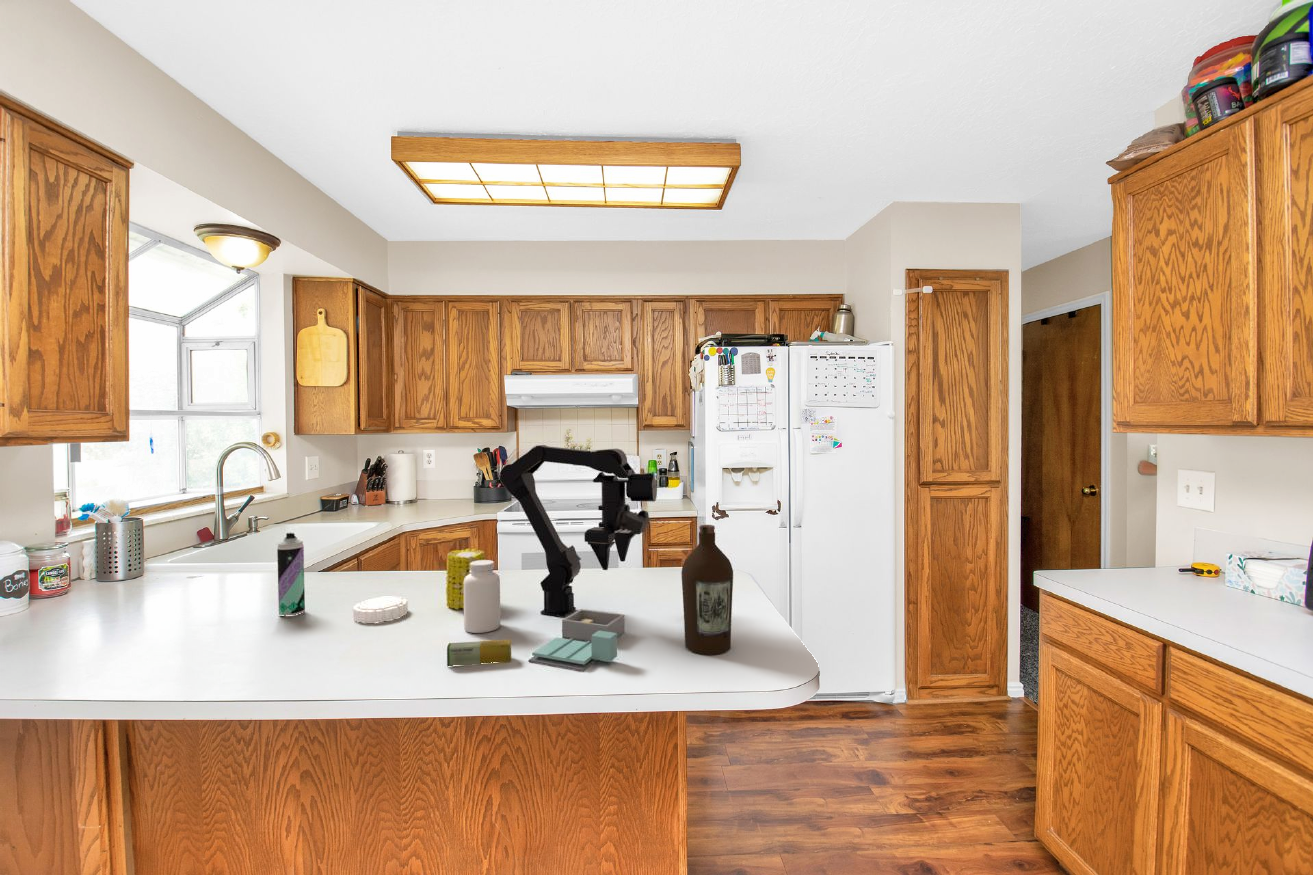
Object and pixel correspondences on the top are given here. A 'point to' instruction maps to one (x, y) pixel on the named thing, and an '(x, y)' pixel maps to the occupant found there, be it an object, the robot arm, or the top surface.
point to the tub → (591, 624)
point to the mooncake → (380, 609)
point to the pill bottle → (481, 598)
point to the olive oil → (707, 596)
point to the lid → (581, 649)
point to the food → (459, 574)
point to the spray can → (291, 575)
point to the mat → (561, 663)
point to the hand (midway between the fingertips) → (614, 565)
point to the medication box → (478, 652)
